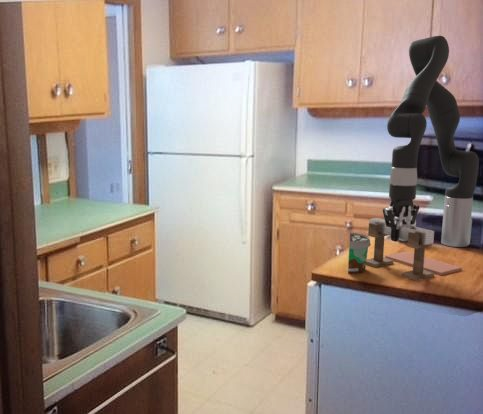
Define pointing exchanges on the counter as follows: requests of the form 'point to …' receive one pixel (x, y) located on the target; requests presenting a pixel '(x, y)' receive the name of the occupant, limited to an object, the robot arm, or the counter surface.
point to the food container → (358, 253)
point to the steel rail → (405, 231)
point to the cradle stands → (381, 261)
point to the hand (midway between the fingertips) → (399, 239)
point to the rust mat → (425, 263)
